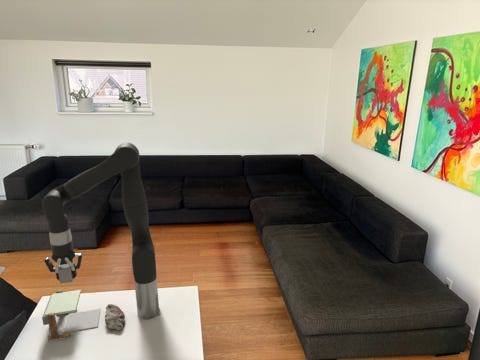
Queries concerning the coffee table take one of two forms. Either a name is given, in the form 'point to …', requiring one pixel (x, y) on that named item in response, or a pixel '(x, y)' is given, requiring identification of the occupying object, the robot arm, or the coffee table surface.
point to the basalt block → (65, 274)
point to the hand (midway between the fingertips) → (67, 278)
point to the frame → (55, 325)
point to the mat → (82, 320)
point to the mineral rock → (114, 317)
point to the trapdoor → (61, 304)
